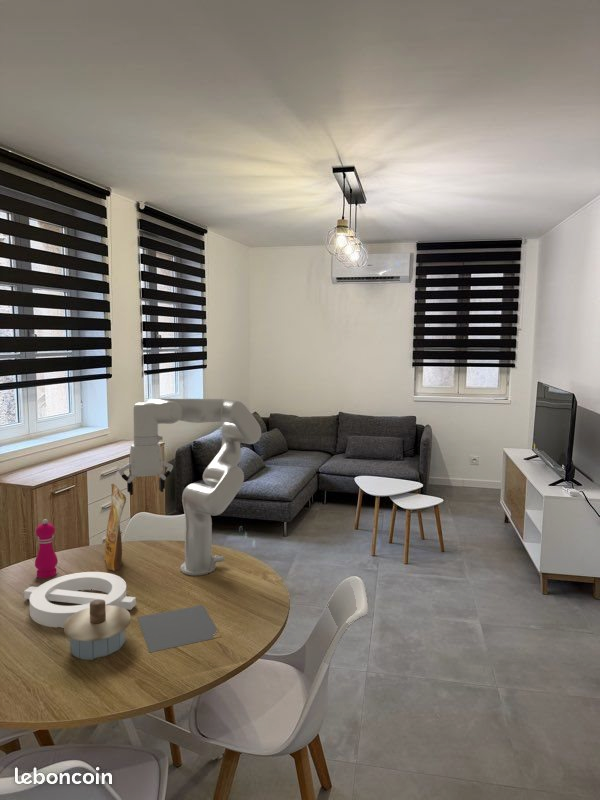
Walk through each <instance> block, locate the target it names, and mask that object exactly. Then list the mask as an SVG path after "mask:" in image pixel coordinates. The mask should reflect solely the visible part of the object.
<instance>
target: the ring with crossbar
mask: <svg viewBox="0 0 600 800" xmlns="http://www.w3.org/2000/svg"><path fill="white" fill-rule="evenodd" d="M91 589H92V590H91ZM78 590H81V591H78ZM87 591H98V592H99V591H100V592H103V593H98V592H97V593H96V592H87ZM105 593H106V594H105ZM23 598H24V599H23V600H29V615H30V618H31V619H32V620H33V622H35V623H37V624H40V625H41V626H44V627H50V628H57V627H61V628H62V629H64V623H65V621H66V620H67V619H68V618H69V617H70V616H71V615H73V614H74V613H76V612H78V611H81V610H83V609H86V608H90V602H92V601H94V600H99V599H100V600H104V601H105V605H112V606H118V607H122V608H124V609H126V610H127V611H129V610H130V611H131V610H133V608H134V607H135V606H136V603H137V601H136V599H137V598H136V597H135V596H127V582H126V581H125V579H123V578H122V577H121V576H119V575H116V574H114V573H109V572H102V571H82V572H81V571H80V572H76V573H70V574H65V575H61V576H57V577H55V578H52V579H50V580H48V581H45V582H44V583H42V584H40V585H39V586H29V587H28V588H26V589H25V590H24V591H23ZM52 602H59V603H68V604H76V605H60V604H56V603H55V604H54V603H52Z"/></svg>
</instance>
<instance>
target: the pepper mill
mask: <svg viewBox="0 0 600 800" xmlns="http://www.w3.org/2000/svg"><path fill="white" fill-rule="evenodd" d="M55 532H56V529H55V525H53V524H52V523H49V520H48V519H47V518H44V519H43V520H42V523H41V524H39V525H38V526H37V527H36V529H35V534H36V536H37V543H38V544H39V549H38V551H37V552H38V553H37V556H36V557H35V561H34V567H35V568H36V569H37V570H36V577H37V578H39V579H49V578H52V577H54V576H56V575H57V568H56V566H57V565H58V556H57V554H56V552H55V551H54V547H53V541H54V540H55V539H54V534H55Z"/></svg>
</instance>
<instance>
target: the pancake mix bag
mask: <svg viewBox="0 0 600 800" xmlns="http://www.w3.org/2000/svg"><path fill="white" fill-rule="evenodd" d="M126 503H127V496H126V495H125V494H124V493H123V492H122V491H121V490H120V489H119V487H118V486H117V485H116V484H114V483H112V484H111V499H110V509H109V515H108V519H107V526H106V533H105V543H104V552H103V553H104V559H105V562H106V567H107V570H109V571H113V572H116V571H117V570H119V569H120V568H121V566H122V557H123V543H122V533H121V525H120V522H121V518H122V517H121V516H122V513H123V511H124V507H125V505H126ZM115 570H116V571H115Z"/></svg>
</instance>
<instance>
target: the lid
mask: <svg viewBox="0 0 600 800" xmlns="http://www.w3.org/2000/svg"><path fill="white" fill-rule="evenodd" d="M131 619H132V618H131V613H130V612H129V610H128V609H124V608H122V607H118V606H112V605H105V601H104V600H100V599H99V600H94V601H92V602H90V608H86V609H83V610H81V611H78V612H76V613H74V614H73V615H71V616H70V617H69V618H68V619H67V620H66V621H65V623H64V628H63V633H64V635H66V636H67V637H68V638H69V639H70V638H72V639H75V640H79V641H97V640H102V639H106V638H110V637H112V636H115V635H117V634H119V633H121V632H122V631H124V630H125V631H126V629H127V628H129V625H130V624H131Z"/></svg>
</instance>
